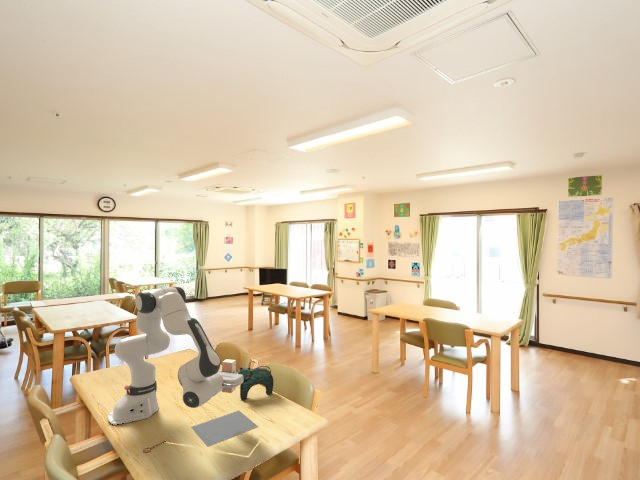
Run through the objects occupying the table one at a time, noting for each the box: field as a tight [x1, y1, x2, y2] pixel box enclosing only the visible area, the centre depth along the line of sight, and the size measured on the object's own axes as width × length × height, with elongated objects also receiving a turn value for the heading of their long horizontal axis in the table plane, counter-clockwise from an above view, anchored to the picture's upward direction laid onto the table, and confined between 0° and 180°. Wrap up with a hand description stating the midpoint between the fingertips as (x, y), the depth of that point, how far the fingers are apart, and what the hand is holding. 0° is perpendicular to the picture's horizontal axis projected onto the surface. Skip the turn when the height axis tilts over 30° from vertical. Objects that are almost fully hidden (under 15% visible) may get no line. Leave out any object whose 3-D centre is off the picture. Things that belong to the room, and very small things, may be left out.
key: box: [142, 440, 167, 454], centre depth 145 cm, size 6×1×15 cm
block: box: [221, 358, 237, 394], centre depth 160 cm, size 4×5×14 cm
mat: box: [190, 410, 259, 448], centre depth 156 cm, size 24×20×1 cm
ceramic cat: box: [237, 360, 274, 401], centre depth 189 cm, size 20×6×20 cm, turn 114°
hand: (229, 372), depth 161 cm, fingers closed on block, 5 cm apart
